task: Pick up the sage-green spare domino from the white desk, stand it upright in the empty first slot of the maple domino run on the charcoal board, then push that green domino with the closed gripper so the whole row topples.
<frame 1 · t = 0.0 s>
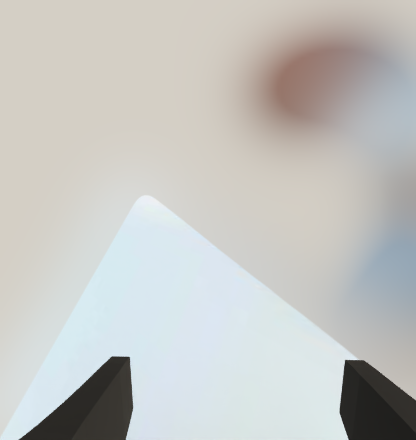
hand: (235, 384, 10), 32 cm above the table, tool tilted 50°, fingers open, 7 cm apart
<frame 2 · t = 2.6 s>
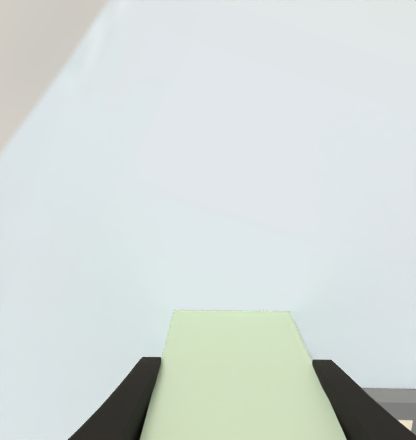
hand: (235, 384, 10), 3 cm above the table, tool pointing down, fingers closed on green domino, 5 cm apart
green domino: (231, 327, 14), on the table, touching gripper
when the fingers open (5 cm above the table, at t = 6.1 s): green domino stays where it is, resting on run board.
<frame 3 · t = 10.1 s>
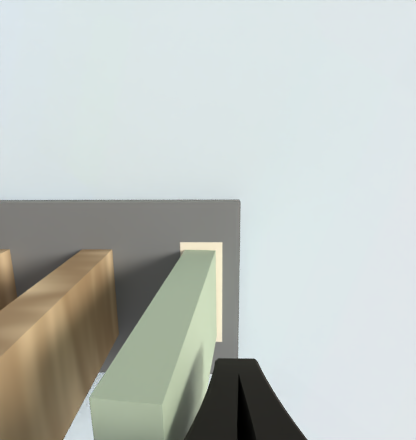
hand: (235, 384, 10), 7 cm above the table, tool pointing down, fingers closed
green domino: (201, 294, 17), point 1 cm above the table, tilted 6°, touching gripper, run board
domino 3: (2, 292, 17), point 1 cm above the table, touching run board
domino 2: (101, 293, 17), point 1 cm above the table, touching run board
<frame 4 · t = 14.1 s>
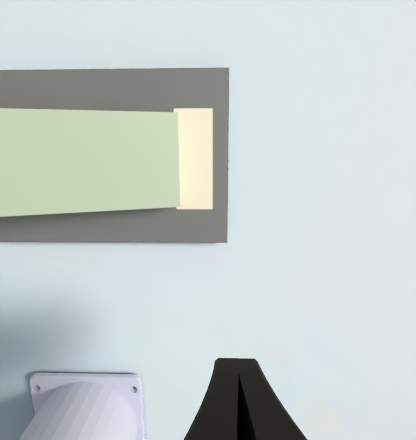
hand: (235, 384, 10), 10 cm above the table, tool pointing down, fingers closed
green domino: (176, 160, 18), point 2 cm above the table, tilted 73°, touching domino 2, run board
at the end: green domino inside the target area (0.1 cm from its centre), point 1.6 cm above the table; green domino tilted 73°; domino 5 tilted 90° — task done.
